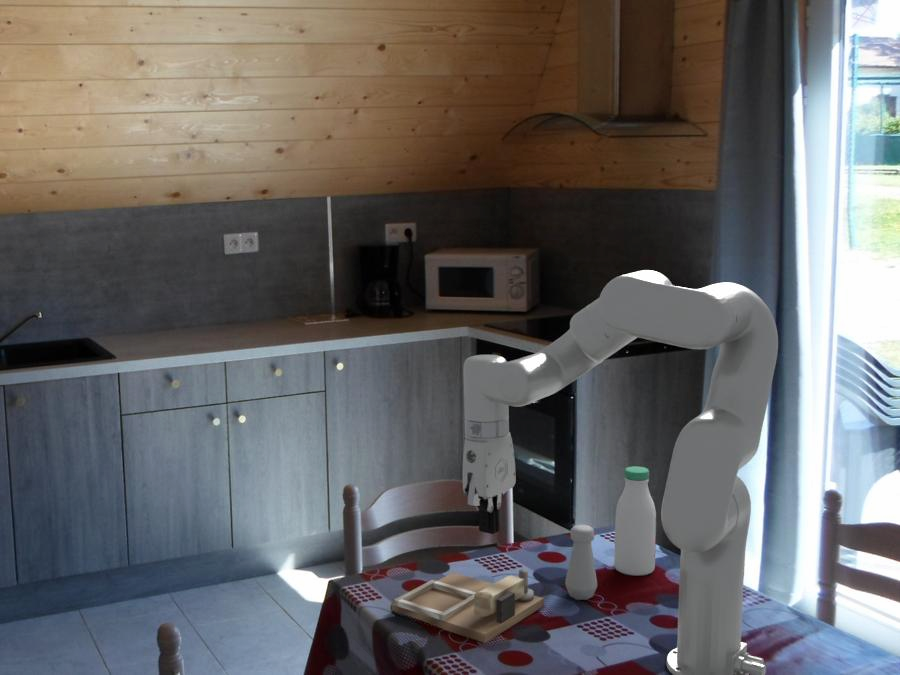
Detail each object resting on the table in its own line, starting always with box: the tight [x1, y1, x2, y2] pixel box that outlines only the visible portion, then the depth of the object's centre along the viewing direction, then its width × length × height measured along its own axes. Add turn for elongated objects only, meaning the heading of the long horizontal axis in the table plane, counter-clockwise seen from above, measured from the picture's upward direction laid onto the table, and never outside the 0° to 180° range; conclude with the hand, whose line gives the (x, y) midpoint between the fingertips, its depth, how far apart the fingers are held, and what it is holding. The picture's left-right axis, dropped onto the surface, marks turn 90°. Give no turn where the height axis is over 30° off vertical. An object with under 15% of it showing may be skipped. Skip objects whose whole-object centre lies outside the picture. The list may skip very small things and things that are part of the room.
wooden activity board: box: [391, 568, 545, 644], centre depth 186 cm, size 20×18×6 cm
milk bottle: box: [613, 465, 657, 577], centre depth 203 cm, size 8×8×20 cm
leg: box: [474, 574, 524, 616], centre depth 182 cm, size 12×3×3 cm, turn 142°
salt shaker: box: [565, 524, 598, 601], centre depth 192 cm, size 6×6×13 cm
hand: (489, 531), depth 183 cm, fingers closed
